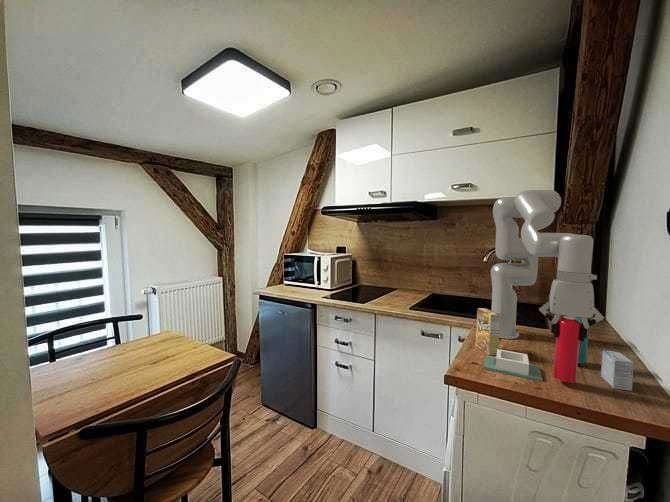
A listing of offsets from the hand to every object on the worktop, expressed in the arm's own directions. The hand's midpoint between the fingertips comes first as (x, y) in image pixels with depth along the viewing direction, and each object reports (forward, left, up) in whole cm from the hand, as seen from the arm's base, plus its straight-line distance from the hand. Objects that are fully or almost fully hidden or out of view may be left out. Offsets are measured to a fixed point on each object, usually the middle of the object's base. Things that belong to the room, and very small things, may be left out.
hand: (567, 337), depth 88 cm
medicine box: (-8, +13, -15) cm, 21 cm away
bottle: (0, 0, -13) cm, 13 cm away
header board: (-3, -14, -14) cm, 20 cm away
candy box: (-16, -22, -15) cm, 31 cm away
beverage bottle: (-19, +5, -14) cm, 25 cm away
